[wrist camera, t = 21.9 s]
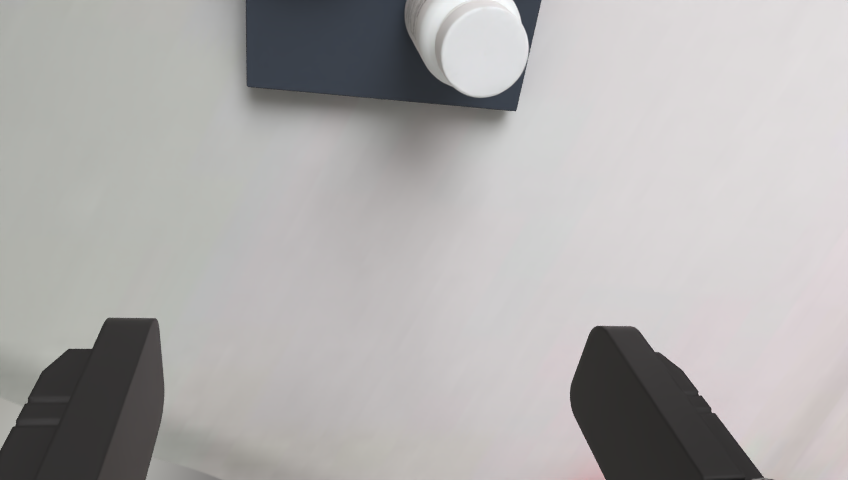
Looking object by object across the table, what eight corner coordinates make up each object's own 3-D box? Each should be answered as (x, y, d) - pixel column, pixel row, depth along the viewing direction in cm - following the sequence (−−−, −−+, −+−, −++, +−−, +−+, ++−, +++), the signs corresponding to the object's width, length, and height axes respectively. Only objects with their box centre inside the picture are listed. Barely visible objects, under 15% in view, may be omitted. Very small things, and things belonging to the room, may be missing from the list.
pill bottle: (506, 30, 30) (558, 76, 23) (428, 73, 30) (458, 129, 24) (470, -57, 28) (517, -33, 21) (387, -8, 28) (407, 30, 22)
